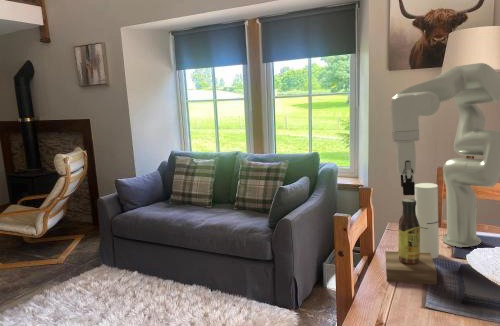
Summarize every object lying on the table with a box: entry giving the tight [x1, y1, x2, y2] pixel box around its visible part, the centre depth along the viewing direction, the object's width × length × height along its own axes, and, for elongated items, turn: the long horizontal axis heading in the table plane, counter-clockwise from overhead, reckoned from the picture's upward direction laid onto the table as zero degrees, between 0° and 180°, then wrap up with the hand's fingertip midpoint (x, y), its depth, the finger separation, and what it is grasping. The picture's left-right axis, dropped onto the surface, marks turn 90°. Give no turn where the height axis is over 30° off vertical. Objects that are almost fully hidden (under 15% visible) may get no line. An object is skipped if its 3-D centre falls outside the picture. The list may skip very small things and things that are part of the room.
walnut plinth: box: [384, 250, 438, 285], centre depth 119 cm, size 14×14×4 cm
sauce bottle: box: [398, 198, 420, 264], centre depth 117 cm, size 7×6×20 cm
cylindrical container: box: [414, 182, 440, 259], centre depth 129 cm, size 7×7×25 cm
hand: (407, 190), depth 115 cm, fingers open, 9 cm apart
